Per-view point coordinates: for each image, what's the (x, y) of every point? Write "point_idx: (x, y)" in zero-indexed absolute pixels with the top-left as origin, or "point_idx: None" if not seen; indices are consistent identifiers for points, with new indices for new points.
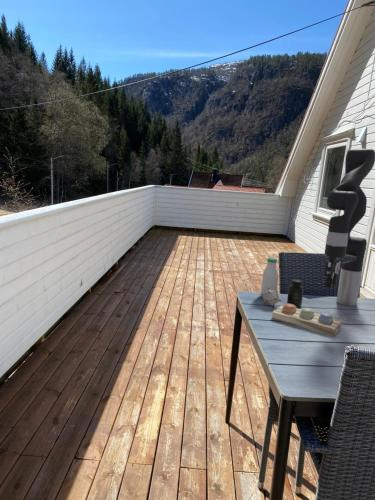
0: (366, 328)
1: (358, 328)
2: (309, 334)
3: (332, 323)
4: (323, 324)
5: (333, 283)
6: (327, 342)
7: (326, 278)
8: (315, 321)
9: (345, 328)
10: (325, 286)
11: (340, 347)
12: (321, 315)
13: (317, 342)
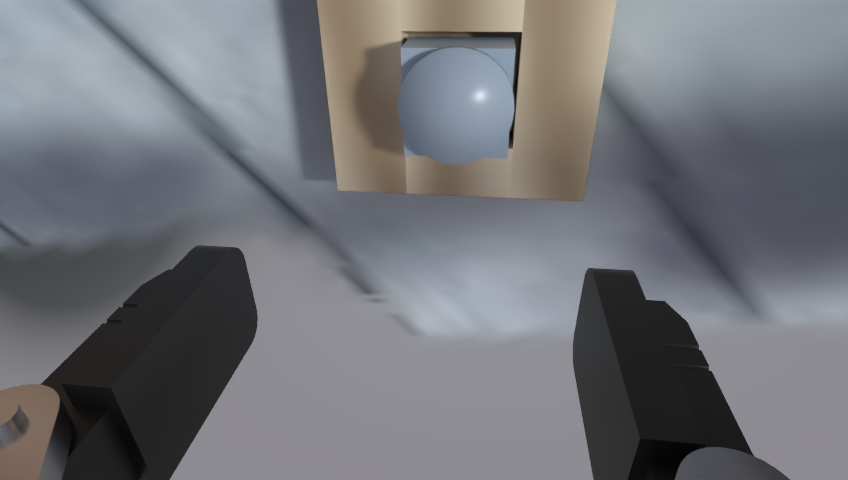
0: None
1: None
2: (241, 13)
3: None
4: (356, 99)
5: (579, 330)
6: (225, 152)
7: (80, 372)
8: (373, 19)
9: (563, 204)
10: (198, 248)
11: (226, 224)
12: (410, 70)
13: (168, 101)
